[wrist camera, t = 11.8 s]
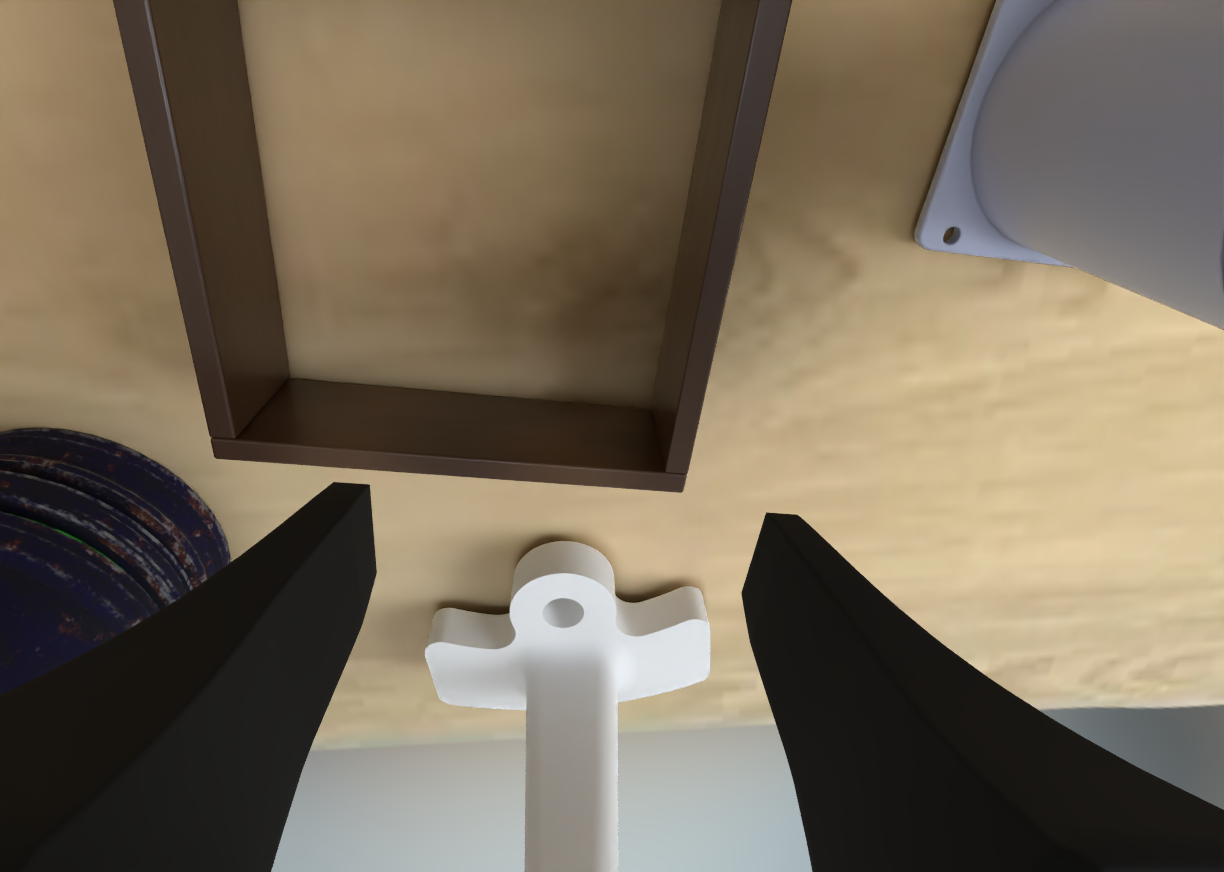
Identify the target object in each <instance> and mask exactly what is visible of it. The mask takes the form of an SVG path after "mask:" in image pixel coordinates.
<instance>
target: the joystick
mask: <svg viewBox="0 0 1224 872" xmlns="http://www.w3.org/2000/svg"><path fill="white" fill-rule="evenodd" d="M425 657H426V660H427V663H428V666H429V669H430V673H431V676H432V679H433V682H434V685H435V688H436V691H437V694H438V697H439V698H440V700H441V701H443V702H445V703H447V704H451V705H458V706H466V707H476V708H488V709H506V710H526V787H525V872H619V870H618V707H617V703H618V702H624V701H629V700H634V699H639V698H644V697H648V696H653V695H657V694H661V693H665V692H669V691H672V690H676V689H679V688H683V687H686V686H689V685H692V684H695V683H698V682H701V681H703V680H705V679H706V678H707V677H708V676H709V673H710V625H709V621H708V617H707V613H706V609H705V605H704V600H703V596H702V593H701V591H700V590H699V589H697V588H695V587H692V586H685V587H681V588H678V589H676V590H673V591H671V592H668V593H666V594H663V595H660V596H658V597H655V598H652V599H649V600H645V601H642V602H638V603H628V602H624V601H622V600H620V599H619V598H617V597H616V595H615V584H614V573H613V569H612V567H611V564H610V563H609V561H608V560H607V559H606V557H605V556H604V555H603V554H601V553H600V552H599V551H597V550H596V549H594V548H592V547H590V546H588V545H585V544H582V543H578V542H571V541H557V542H551V543H546V544H543V545H541V546H538V547H536V548H534V549H532V550H531V551H529V552H528V553H527V554H526V555H524V556H523V557H522V559H521V560H520V561H519V562H518V564H517V566H516V568H515V571H514V577H513V585H512V594H511V603H510V613H507V614H504V615H491V614H483V613H476V612H470V611H465V610H460V609H455V608H443V609H440V610H438V611H437V612H436V613H435V614H434V617H433V621H432V625H431V629H430V633H429V637H428V641H427V645H426V649H425Z"/></svg>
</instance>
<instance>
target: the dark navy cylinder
mask: <svg viewBox="0 0 1224 872" xmlns="http://www.w3.org/2000/svg"><path fill="white" fill-rule="evenodd" d="M228 564H230V555H229V550H228V545H227V541H226V539H225V536H224V534H223V531H222V529H221V527H220V525H219V523H218V522H217V520H216V518H215V517H214V515H213V514H212V512H211V510H210V509H209V508H208V507H207V506H206V504H205V503H204V502H203V501H202V500H201V499H200V497H199V496H198V495H197V494H196V493H195V492H194V491H193V490H192V489H191V488H189V487H188V486H187V485H186V484H185V483H184V482H183V481H182V480H181V479H179V478H178V477H177V476H175V475H174V474H172V473H171V472H170V471H168V470H167V469H165V468H164V467H163V466H161V465H159V464H158V463H156V462H154V461H152V460H151V459H149V458H147V457H145V456H144V455H142V454H140V453H138V452H136V451H133V450H131V449H129V448H126V447H124V446H122V445H120V444H117V443H115V442H111V441H108V440H105V439H102V438H99V437H96V436H93V435H88V434H83V433H78V432H73V431H69V430H59V429H48V428H31V429H17V430H11V431H6V432H1V433H0V695H1V694H3V693H6V692H8V691H10V690H12V689H14V688H16V687H18V686H21V685H23V684H25V683H27V682H29V681H31V680H33V679H35V678H37V677H39V676H41V675H43V674H45V673H47V672H49V671H51V670H53V669H55V668H57V667H58V666H60V665H62V664H64V663H66V662H68V661H70V660H72V659H74V658H76V657H78V656H80V655H81V654H83V653H85V652H87V651H89V650H91V649H93V648H95V647H97V646H99V645H101V644H102V643H104V642H106V641H108V640H110V639H112V638H114V637H116V636H117V635H119V634H121V633H123V632H124V631H126V630H128V629H130V628H131V627H133V626H135V625H136V624H138V623H140V622H141V621H143V620H145V619H146V618H148V617H150V616H151V615H153V614H155V613H156V612H158V611H160V610H161V609H163V608H165V607H166V606H168V605H169V604H171V603H173V602H174V601H176V600H177V599H179V598H180V597H182V596H184V595H185V594H187V593H188V592H190V591H191V590H193V589H194V588H196V587H197V586H198V585H200V584H201V583H203V582H204V581H205V580H207V579H208V578H210V577H211V576H213V575H214V574H215V573H217V572H218V571H220V570H221V569H222V568H224V567H225V566H227V565H228Z"/></svg>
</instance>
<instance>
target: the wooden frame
mask: <svg viewBox="0 0 1224 872" xmlns="http://www.w3.org/2000/svg"><path fill="white" fill-rule="evenodd" d="M113 3H114V8H115V12H116V17H117V21H118V26H119V30H120V35H121V39H122V44H123V48H124V53H125V57H126V62H127V66H128V71H129V75H130V79H131V84H132V88H133V93H134V97H135V102H136V106H137V111H138V115H139V120H140V124H141V129H142V133H143V138H144V142H145V147H146V151H147V156H148V160H149V165H150V169H151V174H152V178H153V183H154V187H155V192H156V196H157V201H158V205H159V210H160V214H161V219H162V223H163V228H164V232H165V237H166V241H167V246H168V250H169V255H170V259H171V264H172V268H173V273H174V277H175V282H176V286H177V291H178V295H179V300H180V304H181V309H182V313H183V318H184V322H185V327H186V331H187V336H188V340H189V345H190V349H191V354H192V358H193V363H194V367H195V372H196V376H197V381H198V385H199V390H200V394H201V399H202V403H203V408H204V412H205V417H206V421H207V426H208V430H209V435H210V436H211V444H212V448H213V453H214V457H215V458H217V459H228V460H242V461H256V462H269V463H283V464H297V465H310V466H324V467H338V468H352V469H365V470H379V471H393V472H406V473H420V474H434V475H447V476H461V477H475V478H489V479H502V480H516V481H530V482H543V483H557V484H571V485H584V486H598V487H612V488H626V489H639V490H653V491H667V492H680V493H681V492H683V490H684V486H685V481H686V477H687V473H688V469H689V465H690V460H691V456H692V451H693V447H694V442H695V438H696V433H697V429H698V424H699V419H700V415H701V410H702V406H703V401H704V397H705V392H706V388H707V383H708V379H709V374H710V370H711V365H712V361H713V356H714V352H715V347H716V343H717V338H718V334H719V329H720V325H721V320H722V316H723V311H724V306H725V302H726V297H727V293H728V288H729V284H730V279H731V275H732V270H733V266H734V261H735V257H736V252H737V248H738V243H739V239H740V234H741V230H742V225H743V221H744V216H745V212H746V207H747V202H748V198H749V193H750V189H751V184H752V180H753V175H754V171H755V166H756V162H757V157H758V153H759V148H760V144H761V139H762V135H763V130H764V126H765V121H766V117H767V112H768V108H769V103H770V98H771V94H772V89H773V85H774V80H775V76H776V71H777V67H778V62H779V58H780V53H781V49H782V44H783V40H784V35H785V31H786V26H787V22H788V17H789V13H790V8H791V4H792V0H723V1H722V7H721V13H720V18H719V24H718V30H717V36H716V41H715V47H714V53H713V58H712V64H711V70H710V75H709V81H708V87H707V92H706V98H705V104H704V110H703V115H702V121H701V127H700V132H699V138H698V144H697V149H696V155H695V161H694V166H693V172H692V178H691V183H690V189H689V195H688V201H687V206H686V212H685V218H684V223H683V229H682V235H681V240H680V246H679V252H678V257H677V263H676V269H675V274H674V280H673V286H672V292H671V297H670V303H669V309H668V314H667V320H666V326H665V331H664V337H663V343H662V348H661V354H660V360H659V366H658V371H657V377H656V383H655V388H654V394H653V400H652V405H651V410H646V409H635V408H623V407H612V406H600V405H589V404H577V403H565V402H554V401H542V400H531V399H519V398H508V397H496V396H485V395H473V394H462V393H450V392H438V391H427V390H415V389H404V388H392V387H381V386H369V385H358V384H346V383H335V382H323V381H312V380H300V379H289V377H290V375H289V368H288V361H287V354H286V347H285V340H284V333H283V326H282V318H281V311H280V304H279V297H278V290H277V283H276V276H275V269H274V262H273V255H272V248H271V241H270V234H269V227H268V220H267V213H266V206H265V199H264V191H263V184H262V177H261V170H260V163H259V156H258V149H257V142H256V135H255V128H254V121H253V114H252V107H251V100H250V93H249V86H248V79H247V72H246V64H245V57H244V50H243V43H242V36H241V29H240V22H239V15H238V8H237V1H236V0H113Z"/></svg>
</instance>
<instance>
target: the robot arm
mask: <svg viewBox="0 0 1224 872" xmlns="http://www.w3.org/2000/svg"><path fill="white" fill-rule="evenodd" d="M950 227H953V228H954V234H953V235H952V237H951V238H950V239H948V240H947V241H943V235H944V233H945V232H946V230H947V229H949V228H950ZM914 238H915V242H916V243H917V244H918V245H919V246H921V247H922V248H925V249H927V250H932V251H940V252H949V253H957V254H965V255H974V256H982V257H990V258H999V259H1007V260H1016V261H1024V262H1032V263H1041V264H1049V265H1057V266H1066V267H1074V268H1077V269H1079V270H1082V271H1084V272H1087V273H1089V274H1091V275H1094V276H1096V277H1099V278H1101V279H1103V280H1106V281H1108V282H1110V283H1113V284H1115V285H1118V286H1120V287H1122V288H1125V289H1127V290H1130V291H1132V292H1134V293H1137V294H1139V295H1141V296H1144V297H1146V298H1149V299H1151V300H1153V301H1156V302H1158V303H1161V304H1163V305H1165V306H1168V307H1170V308H1172V309H1175V310H1177V311H1180V312H1182V313H1184V314H1187V315H1189V316H1192V317H1194V318H1196V319H1199V320H1201V321H1203V322H1206V323H1208V324H1211V325H1213V326H1215V327H1218V328H1220V329H1223V330H1224V0H996V2H995V5H994V8H993V11H992V14H991V17H990V19H989V22H988V25H987V28H986V31H985V34H984V36H983V39H982V42H981V45H980V48H979V50H978V53H977V56H976V59H975V62H974V65H973V67H972V70H971V73H970V76H969V79H968V81H967V84H966V87H965V90H964V93H963V96H962V98H961V101H960V104H959V107H958V110H957V113H956V115H955V118H954V121H953V124H952V127H951V129H950V132H949V135H948V138H947V141H946V144H945V146H944V149H943V152H942V155H941V158H940V160H939V163H938V166H937V169H936V172H935V175H934V177H933V180H932V183H931V186H930V189H929V192H928V194H927V197H926V200H925V203H924V206H923V208H922V211H921V214H920V217H919V220H918V223H917V225H916V228H915V233H914ZM376 573H377V571H376V558H375V546H374V533H373V521H372V508H371V496H370V485H367V484H353V483H339V482H333V483H332V484H331V485H329V486H328V487H327V488H326V489H324V490H323V491H322V492H320V493H319V494H318V495H317V496H315V497H314V498H313V499H312V500H310V501H309V502H308V503H307V504H305V505H304V506H303V507H302V508H301V509H299V510H298V511H297V512H296V513H294V514H293V515H292V516H291V517H289V518H288V519H287V520H286V521H284V522H283V523H282V524H281V525H280V526H278V527H277V528H276V529H275V530H273V531H272V532H271V533H269V534H268V535H267V536H265V537H264V538H263V539H262V540H260V541H259V542H258V543H256V544H255V545H254V546H253V547H251V548H250V549H249V550H247V551H246V552H245V553H243V554H242V555H241V556H239V557H238V558H237V559H235V560H234V561H232V562H231V563H230V564H228V565H227V566H225V567H224V568H222V569H221V570H220V571H218V572H217V573H215V574H214V575H213V576H211V577H210V578H208V579H207V580H205V581H204V582H203V583H201V584H200V585H198V586H197V587H196V588H194V589H193V590H191V591H190V592H188V593H187V594H185V595H184V596H182V597H180V598H179V599H177V600H176V601H174V602H173V603H171V604H169V605H168V606H166V607H165V608H163V609H161V610H160V611H158V612H156V613H155V614H153V615H151V616H150V617H148V618H146V619H145V620H143V621H141V622H140V623H138V624H136V625H135V626H133V627H131V628H130V629H128V630H126V631H124V632H123V633H121V634H119V635H117V636H116V637H114V638H112V639H110V640H108V641H106V642H104V643H102V644H101V645H99V646H97V647H95V648H93V649H91V650H89V651H87V652H85V653H83V654H81V655H80V656H78V657H76V658H74V659H72V660H70V661H68V662H66V663H64V664H62V665H60V666H58V667H57V668H55V669H53V670H51V671H49V672H47V673H45V674H43V675H41V676H39V677H37V678H35V679H33V680H31V681H29V682H27V683H25V684H23V685H21V686H18V687H16V688H14V689H12V690H10V691H8V692H6V693H3V694H1V695H0V872H271V869H272V867H273V863H274V860H275V856H276V853H277V849H278V846H279V843H280V839H281V836H282V833H283V829H284V826H285V823H286V820H287V817H288V813H289V810H290V807H291V804H292V801H293V798H294V794H295V791H296V788H297V784H298V782H299V778H300V775H301V772H302V769H303V766H304V764H305V761H306V758H307V756H308V753H309V751H310V748H311V745H312V743H313V740H314V738H315V735H316V733H317V731H318V728H319V726H320V724H321V721H322V719H323V717H324V714H325V712H326V710H327V707H328V705H329V703H330V700H331V698H332V695H333V693H334V691H335V688H336V686H337V684H338V681H339V679H340V677H341V674H342V672H343V670H344V667H345V665H346V663H347V660H348V658H349V655H350V653H351V651H352V648H353V646H354V643H355V641H356V639H357V636H358V634H359V631H360V629H361V626H362V624H363V620H364V617H365V613H366V610H367V607H368V603H369V600H370V596H371V592H372V588H373V585H374V581H375V577H376ZM742 600H743V606H744V612H745V618H746V623H747V628H748V634H749V639H750V643H751V647H752V650H753V653H754V657H755V660H756V663H757V666H758V669H759V672H760V676H761V679H762V682H763V685H764V688H765V691H766V694H767V697H768V700H769V703H770V706H771V710H772V713H773V716H774V719H775V722H776V725H777V728H778V731H779V734H780V737H781V740H782V743H783V746H784V749H785V753H786V756H787V759H788V763H789V766H790V770H791V774H792V777H793V781H794V784H795V789H796V794H797V799H798V803H799V808H800V812H801V817H802V821H803V826H804V831H805V836H806V840H807V846H808V851H809V855H810V861H811V866H812V871H813V872H1224V810H1223V809H1221V808H1219V807H1217V806H1214V805H1212V804H1210V803H1208V802H1206V801H1204V800H1202V799H1200V798H1198V797H1196V796H1194V795H1192V794H1190V793H1188V792H1186V791H1184V790H1182V789H1180V788H1178V787H1176V786H1174V785H1172V784H1170V783H1168V782H1166V781H1164V780H1162V779H1160V778H1158V777H1156V776H1154V775H1152V774H1150V773H1148V772H1146V771H1144V770H1142V769H1140V768H1138V767H1136V766H1134V765H1132V764H1130V763H1129V762H1127V761H1125V760H1123V759H1121V758H1120V757H1118V756H1116V755H1114V754H1113V753H1111V752H1109V751H1107V750H1105V749H1103V748H1102V747H1100V746H1098V745H1096V744H1094V743H1093V742H1091V741H1089V740H1087V739H1085V738H1084V737H1082V736H1080V735H1078V734H1077V733H1075V732H1074V731H1072V730H1070V729H1068V728H1067V727H1065V726H1063V725H1062V724H1060V723H1058V722H1057V721H1055V720H1053V719H1052V718H1050V717H1048V716H1047V715H1045V714H1044V713H1042V712H1040V711H1039V710H1037V709H1036V708H1034V707H1033V706H1031V705H1030V704H1028V703H1026V702H1025V701H1023V700H1022V699H1020V698H1019V697H1017V696H1015V695H1014V694H1012V693H1011V692H1009V691H1008V690H1006V689H1005V688H1003V687H1002V686H1000V685H999V684H997V683H996V682H994V681H993V680H991V679H990V678H988V677H987V676H986V675H984V674H983V673H981V672H980V671H979V670H977V669H976V668H974V667H973V666H972V665H970V664H969V663H968V662H966V661H965V660H964V659H962V658H961V657H959V656H958V655H957V654H955V653H954V652H953V651H951V650H950V649H948V648H947V647H946V646H945V645H943V644H942V643H941V642H939V641H938V640H937V639H936V638H934V637H933V636H932V635H930V634H929V633H928V632H927V631H926V630H924V629H923V628H922V627H921V626H920V625H918V624H917V623H916V622H915V621H914V620H912V619H911V618H910V617H909V616H908V615H906V614H905V613H904V612H903V611H902V610H900V609H899V608H898V607H897V606H896V605H895V604H894V603H892V602H891V601H890V600H889V599H888V598H887V597H886V596H884V595H883V594H882V593H881V592H880V591H879V590H878V589H877V588H876V587H874V586H873V585H872V584H871V583H870V582H869V581H868V580H867V579H866V578H865V577H864V576H863V575H861V574H860V573H859V572H858V571H857V570H856V569H855V568H854V567H853V566H852V565H851V564H850V563H849V562H848V561H847V560H846V559H845V558H843V557H842V556H841V555H840V554H839V553H838V552H837V551H836V550H835V549H834V548H833V547H832V546H831V545H830V544H829V543H828V542H827V541H826V540H825V539H824V538H823V537H821V536H820V535H819V534H818V533H817V532H816V531H815V530H814V529H813V528H812V527H811V526H810V525H809V524H808V523H806V522H805V521H804V520H803V519H802V518H801V517H799V516H798V515H792V514H778V513H766V515H765V518H764V522H763V525H762V528H761V531H760V535H759V538H758V541H757V544H756V548H755V551H754V554H753V557H752V561H751V564H750V567H749V570H748V574H747V577H746V580H745V583H744V587H743V590H742Z"/></svg>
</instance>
